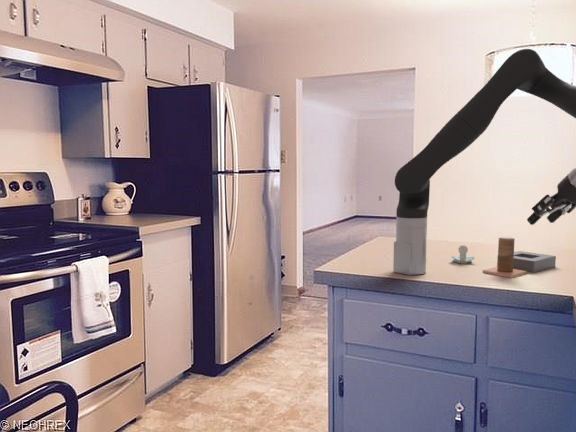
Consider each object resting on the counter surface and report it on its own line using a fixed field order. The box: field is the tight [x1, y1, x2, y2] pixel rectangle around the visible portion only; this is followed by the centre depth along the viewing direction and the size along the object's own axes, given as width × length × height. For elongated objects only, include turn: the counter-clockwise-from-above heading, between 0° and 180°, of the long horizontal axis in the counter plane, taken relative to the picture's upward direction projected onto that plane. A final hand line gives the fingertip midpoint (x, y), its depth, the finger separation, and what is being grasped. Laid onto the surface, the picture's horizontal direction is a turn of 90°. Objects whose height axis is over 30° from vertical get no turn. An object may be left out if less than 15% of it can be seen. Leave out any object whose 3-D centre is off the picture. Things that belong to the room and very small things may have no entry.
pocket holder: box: [496, 250, 557, 273], centre depth 159 cm, size 14×12×4 cm
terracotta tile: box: [482, 266, 528, 279], centre depth 150 cm, size 9×9×1 cm
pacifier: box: [451, 244, 475, 264], centre depth 167 cm, size 7×6×6 cm
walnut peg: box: [496, 236, 515, 272], centre depth 149 cm, size 4×4×10 cm
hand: (539, 221), depth 139 cm, fingers open, 8 cm apart
